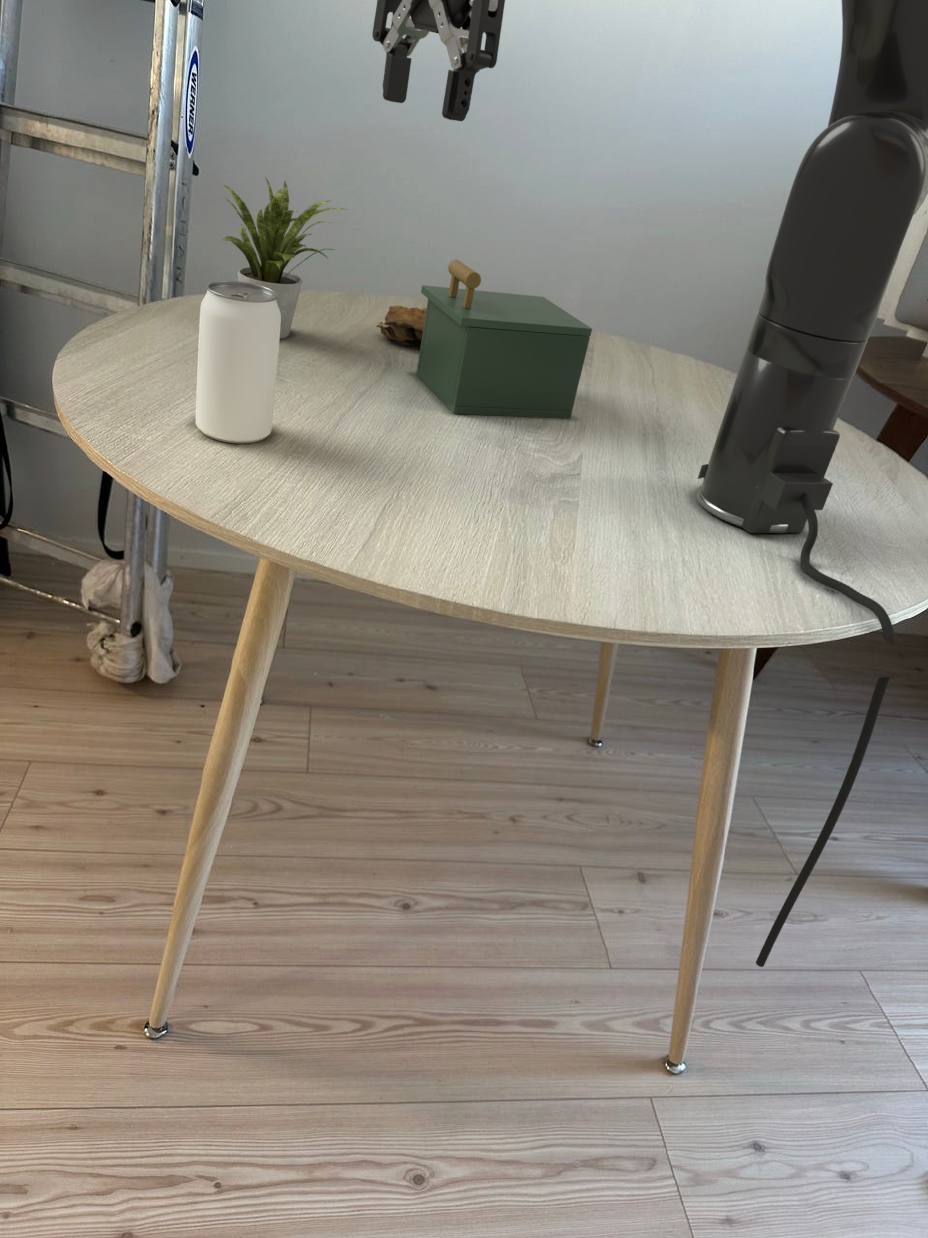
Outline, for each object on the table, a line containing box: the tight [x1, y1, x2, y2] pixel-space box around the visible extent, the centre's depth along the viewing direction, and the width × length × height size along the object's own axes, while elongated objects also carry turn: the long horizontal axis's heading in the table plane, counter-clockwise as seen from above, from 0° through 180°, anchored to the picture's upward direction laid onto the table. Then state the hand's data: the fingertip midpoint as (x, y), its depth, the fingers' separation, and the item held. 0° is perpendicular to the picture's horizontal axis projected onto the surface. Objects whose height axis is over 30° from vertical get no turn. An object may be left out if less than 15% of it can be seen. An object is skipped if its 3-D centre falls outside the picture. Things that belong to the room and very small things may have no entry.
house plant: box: [219, 176, 348, 339], centre depth 108 cm, size 14×14×16 cm
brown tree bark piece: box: [375, 305, 427, 342], centre depth 120 cm, size 11×4×15 cm
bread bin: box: [415, 298, 591, 419], centre depth 105 cm, size 14×12×9 cm
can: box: [195, 280, 281, 445], centre depth 83 cm, size 6×6×12 cm
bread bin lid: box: [420, 259, 593, 337], centre depth 101 cm, size 14×12×4 cm
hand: (422, 110), depth 88 cm, fingers open, 8 cm apart
